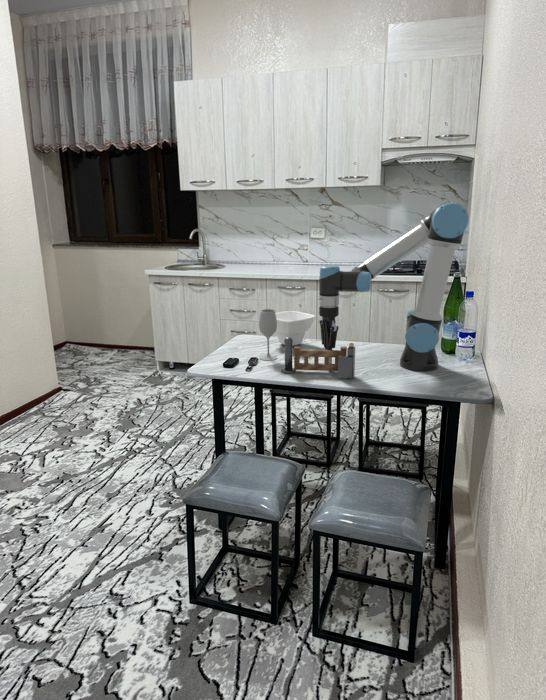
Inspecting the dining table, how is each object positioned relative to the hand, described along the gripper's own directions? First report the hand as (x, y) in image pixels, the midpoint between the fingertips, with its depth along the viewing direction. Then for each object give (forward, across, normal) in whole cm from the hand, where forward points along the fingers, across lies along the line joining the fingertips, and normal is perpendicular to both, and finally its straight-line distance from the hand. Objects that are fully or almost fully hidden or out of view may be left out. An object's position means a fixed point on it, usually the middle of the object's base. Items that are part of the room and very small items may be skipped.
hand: (328, 363), depth 209 cm
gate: (+1, +2, -5) cm, 5 cm away
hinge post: (+2, -3, -16) cm, 16 cm away
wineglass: (+3, -23, -18) cm, 29 cm away
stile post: (+2, +12, +2) cm, 13 cm away
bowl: (+3, -40, -1) cm, 40 cm away
